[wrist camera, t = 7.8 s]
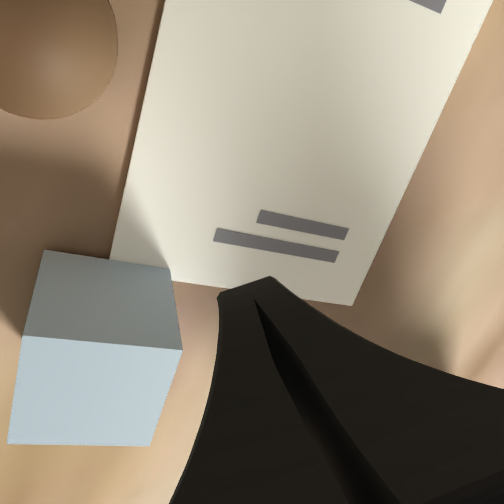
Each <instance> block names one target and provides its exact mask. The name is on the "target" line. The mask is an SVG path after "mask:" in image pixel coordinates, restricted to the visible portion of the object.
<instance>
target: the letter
mask: <svg viewBox="0 0 504 504" xmlns="http://www.w3.org/2000/svg"><path fill="white" fill-rule="evenodd" d="M492 1H493V0H165V2H164V7H163V11H162V16H161V21H160V25H159V30H158V35H157V39H156V44H155V48H154V53H153V58H152V62H151V67H150V72H149V76H148V81H147V85H146V90H145V95H144V99H143V104H142V109H141V113H140V118H139V122H138V127H137V132H136V136H135V141H134V146H133V150H132V155H131V159H130V164H129V169H128V173H127V178H126V183H125V187H124V192H123V196H122V201H121V206H120V210H119V215H118V220H117V224H116V229H115V233H114V238H113V243H112V247H111V252H110V257H109V260H115V261H122V262H128V263H135V264H141V265H148V266H154V267H161V268H167V269H170V272H171V279H172V281H178V282H185V283H193V284H200V285H207V286H214V287H221V288H228V289H232V288H235V287H238V286H241V285H244V284H247V283H250V282H253V281H256V280H259V279H262V278H264V277H267V276H272V277H274V278H276V279H277V280H278V281H279V282H280V283H281V284H283V285H284V286H285V287H286V288H287V289H289V290H290V291H291V292H293V293H294V294H295V295H297V296H298V297H299V298H301V299H305V300H313V301H320V302H327V303H334V304H341V305H348V306H352V305H353V303H354V301H355V298H356V296H357V294H358V292H359V290H360V288H361V285H362V283H363V281H364V279H365V277H366V275H367V272H368V270H369V268H370V266H371V264H372V262H373V259H374V257H375V255H376V253H377V251H378V249H379V246H380V244H381V242H382V240H383V238H384V236H385V233H386V231H387V229H388V227H389V225H390V223H391V220H392V218H393V216H394V214H395V212H396V210H397V207H398V205H399V203H400V201H401V199H402V197H403V194H404V192H405V190H406V188H407V186H408V184H409V181H410V179H411V177H412V175H413V173H414V171H415V168H416V166H417V164H418V162H419V160H420V158H421V155H422V153H423V151H424V149H425V147H426V145H427V142H428V140H429V138H430V136H431V134H432V132H433V129H434V127H435V125H436V123H437V121H438V118H439V116H440V114H441V112H442V110H443V108H444V105H445V103H446V101H447V99H448V97H449V95H450V92H451V90H452V88H453V86H454V84H455V82H456V79H457V77H458V75H459V73H460V71H461V69H462V66H463V64H464V62H465V60H466V58H467V56H468V53H469V51H470V49H471V47H472V45H473V43H474V40H475V38H476V36H477V34H478V32H479V30H480V27H481V25H482V23H483V21H484V19H485V17H486V14H487V12H488V10H489V8H490V6H491V4H492Z"/></svg>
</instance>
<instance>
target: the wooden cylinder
mask: <svg viewBox="0 0 504 504" xmlns="http://www.w3.org/2000/svg"><path fill="white" fill-rule="evenodd" d="M117 55H118V37H117V28H116V22H115V18H114V14H113V11H112V8H111V6H110V3H109V1H108V0H0V108H1V109H3V110H5V111H7V112H9V113H12V114H15V115H18V116H22V117H27V118H32V119H56V118H62V117H66V116H69V115H72V114H75V113H77V112H79V111H81V110H83V109H84V108H86V107H88V106H89V105H90V104H92V103H93V102H94V101H95V100H96V99H97V98H98V97H99V96H100V95H101V94H102V93H103V91H104V90H105V88H106V87H107V85H108V84H109V82H110V79H111V77H112V75H113V72H114V69H115V66H116V61H117Z"/></svg>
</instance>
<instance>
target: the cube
mask: <svg viewBox="0 0 504 504" xmlns="http://www.w3.org/2000/svg"><path fill="white" fill-rule="evenodd" d="M182 351H183V348H182V342H181V335H180V329H179V323H178V316H177V310H176V304H175V298H174V291H173V285H172V279H171V272H170V269H167V268H161V267H154V266H148V265H141V264H135V263H128V262H122V261H115V260H109V259H102V258H96V257H90V256H83V255H77V254H70V253H64V252H57V251H51V250H44V251H43V255H42V259H41V263H40V267H39V271H38V275H37V279H36V283H35V287H34V291H33V295H32V299H31V304H30V308H29V312H28V316H27V320H26V324H25V328H24V332H23V336H22V343H21V350H20V356H19V363H18V370H17V377H16V384H15V391H14V397H13V404H12V411H11V418H10V425H9V431H8V438H7V444H44V445H103V446H150V443H151V440H152V437H153V434H154V431H155V428H156V426H157V423H158V420H159V417H160V414H161V411H162V408H163V406H164V403H165V400H166V397H167V394H168V391H169V388H170V386H171V383H172V380H173V377H174V374H175V371H176V368H177V366H178V363H179V360H180V357H181V354H182Z"/></svg>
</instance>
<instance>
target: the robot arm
mask: <svg viewBox="0 0 504 504" xmlns="http://www.w3.org/2000/svg"><path fill="white" fill-rule="evenodd" d="M217 301H218V306H219V334H218V344H217V354H216V361H215V366H214V371H213V377H212V382H211V387H210V392H209V396H208V400H207V404H206V407H205V411H204V414H203V418H202V421H201V425H200V428H199V430H198V433H197V436H196V439H195V442H194V445H193V448H192V451H191V454H190V456H189V459H188V461H187V464H186V466H185V469H184V471H183V474H182V476H181V478H180V480H179V483H178V485H177V487H176V489H175V492H174V494H173V496H172V498H171V500H170V503H169V504H504V389H501V388H497V387H493V386H490V385H486V384H483V383H479V382H475V381H472V380H468V379H465V378H461V377H458V376H455V375H452V374H449V373H446V372H443V371H440V370H437V369H435V368H432V367H429V366H426V365H423V364H421V363H418V362H415V361H412V360H410V359H407V358H405V357H403V356H400V355H398V354H395V353H393V352H391V351H389V350H387V349H385V348H383V347H380V346H378V345H376V344H374V343H372V342H370V341H368V340H366V339H364V338H363V337H361V336H359V335H357V334H355V333H353V332H352V331H350V330H348V329H346V328H345V327H343V326H341V325H340V324H338V323H336V322H335V321H333V320H331V319H330V318H328V317H327V316H325V315H324V314H322V313H321V312H319V311H318V310H316V309H315V308H313V307H312V306H310V305H309V304H307V303H306V302H305V301H303V300H302V299H301V298H299V297H298V296H297V295H295V294H294V293H293V292H291V291H290V290H289V289H287V288H286V287H285V286H284V285H283V284H281V283H280V282H279V281H278V280H277V279H276V278H274V277H272V276H267V277H264V278H262V279H259V280H256V281H253V282H250V283H247V284H244V285H241V286H238V287H235V288H232V289H229V290H226V291H223V292H220V294H219V295H218V297H217Z"/></svg>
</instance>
